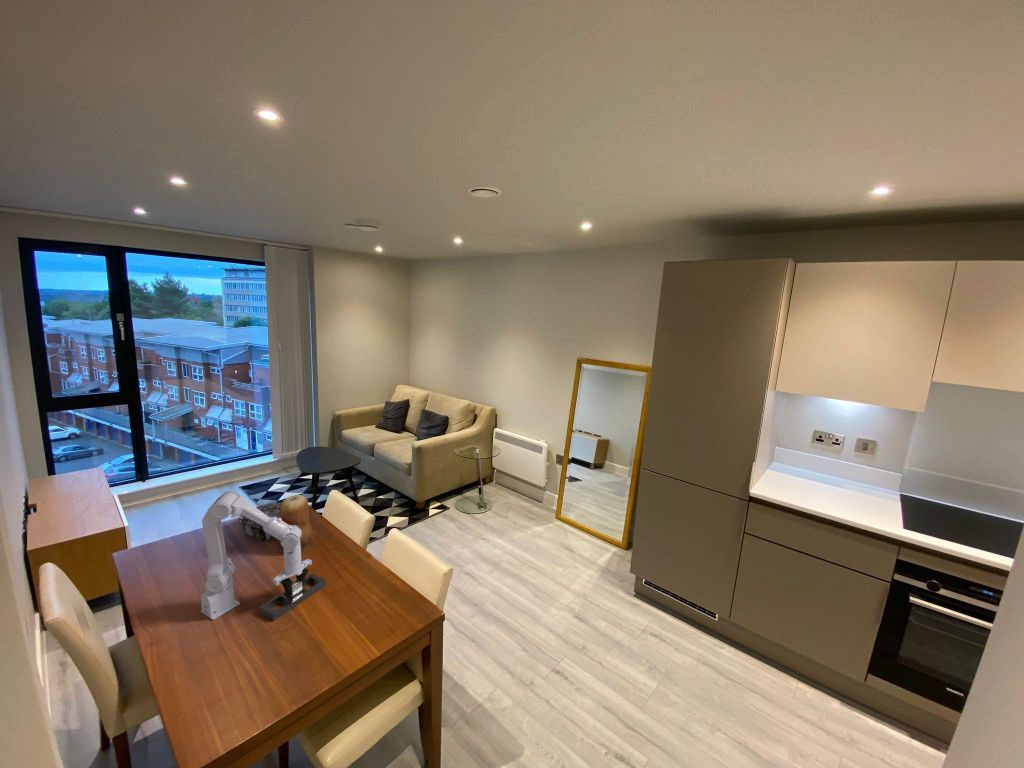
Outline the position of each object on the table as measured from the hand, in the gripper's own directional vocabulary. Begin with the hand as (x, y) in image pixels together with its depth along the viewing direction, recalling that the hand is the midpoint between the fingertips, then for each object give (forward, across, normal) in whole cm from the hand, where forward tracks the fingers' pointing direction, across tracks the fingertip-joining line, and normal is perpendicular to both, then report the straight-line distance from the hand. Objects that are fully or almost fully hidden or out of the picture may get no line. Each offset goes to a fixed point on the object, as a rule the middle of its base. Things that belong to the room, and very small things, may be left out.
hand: (294, 590), depth 158 cm
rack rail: (+3, 0, 0) cm, 3 cm away
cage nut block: (+2, 0, 0) cm, 2 cm away
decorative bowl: (+4, +25, +52) cm, 58 cm away
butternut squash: (+4, +22, +29) cm, 37 cm away
